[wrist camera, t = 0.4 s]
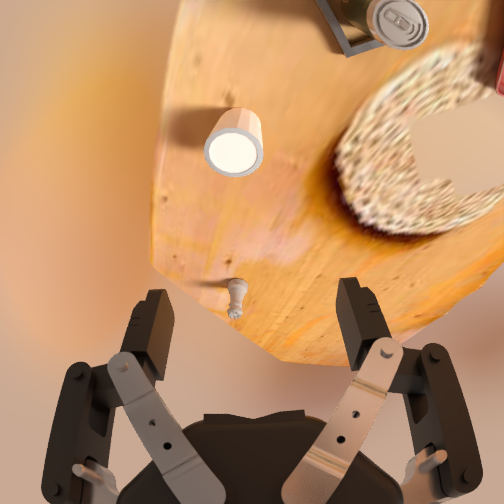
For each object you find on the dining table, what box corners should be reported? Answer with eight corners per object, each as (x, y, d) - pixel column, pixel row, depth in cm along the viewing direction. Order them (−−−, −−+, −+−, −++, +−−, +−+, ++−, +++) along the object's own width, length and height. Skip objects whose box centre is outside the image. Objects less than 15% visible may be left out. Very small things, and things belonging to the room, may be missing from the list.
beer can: (332, 13, 25) (357, 28, 17) (353, -21, 21) (389, -20, 13) (372, 37, 26) (410, 64, 19) (393, 5, 22) (442, 20, 15)
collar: (306, -13, 23) (307, -13, 22) (382, -36, 18) (386, -37, 18) (344, 54, 29) (346, 57, 28) (413, 33, 25) (418, 36, 24)
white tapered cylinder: (270, 143, 40) (269, 173, 35) (222, 151, 41) (214, 182, 37) (258, 98, 35) (255, 122, 30) (206, 109, 36) (194, 135, 32)
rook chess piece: (239, 275, 64) (235, 308, 59) (252, 285, 67) (250, 318, 62) (223, 281, 66) (219, 314, 61) (237, 290, 69) (233, 322, 64)
